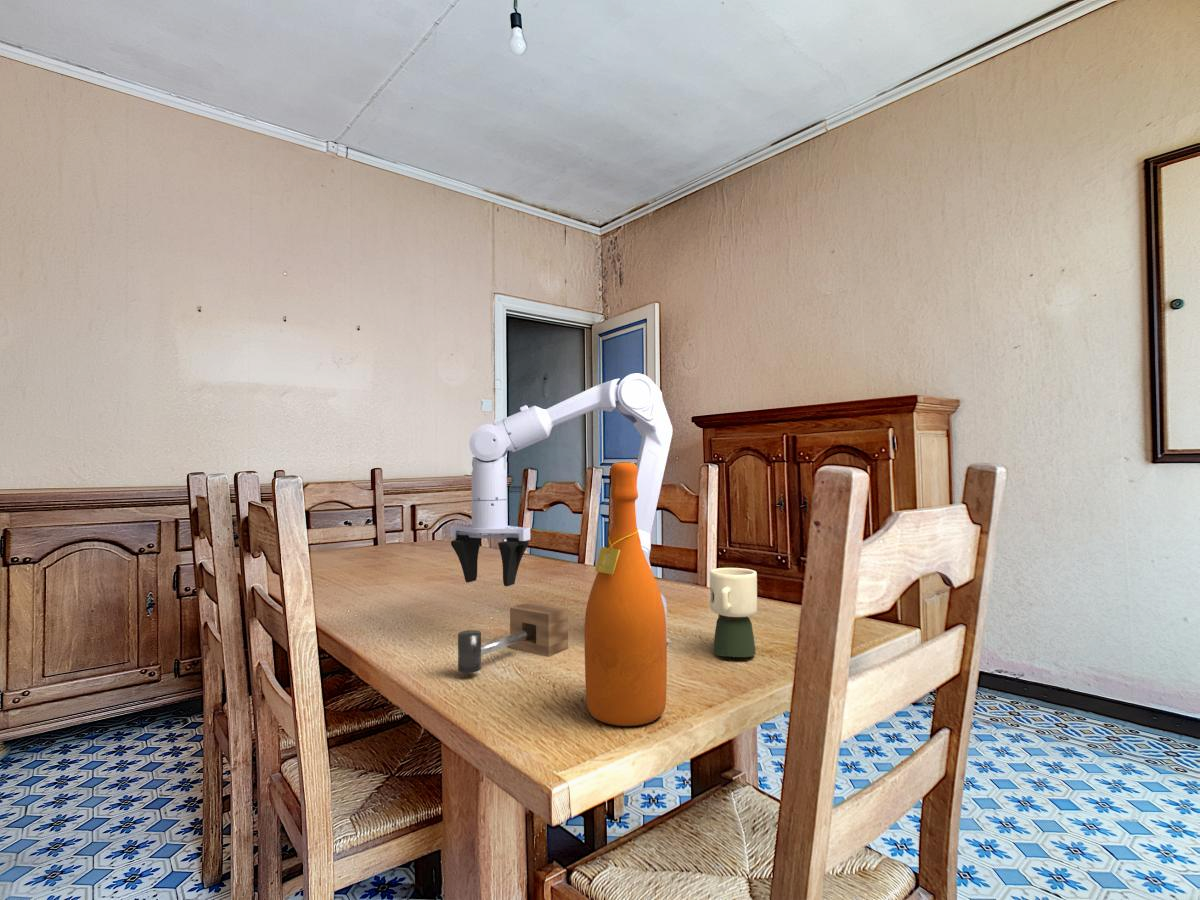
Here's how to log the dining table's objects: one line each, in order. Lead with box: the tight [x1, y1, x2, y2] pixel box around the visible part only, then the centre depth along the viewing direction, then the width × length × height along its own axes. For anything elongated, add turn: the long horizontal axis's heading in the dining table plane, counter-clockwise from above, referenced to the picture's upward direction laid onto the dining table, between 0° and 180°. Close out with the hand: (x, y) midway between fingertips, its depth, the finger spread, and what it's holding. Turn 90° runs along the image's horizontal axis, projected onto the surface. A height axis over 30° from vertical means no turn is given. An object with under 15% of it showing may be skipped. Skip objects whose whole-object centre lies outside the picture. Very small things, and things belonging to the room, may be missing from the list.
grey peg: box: [457, 629, 527, 674], centre depth 90 cm, size 13×3×5 cm, turn 146°
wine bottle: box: [583, 461, 668, 727], centre depth 73 cm, size 10×10×30 cm
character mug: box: [709, 567, 758, 660], centre depth 93 cm, size 11×7×13 cm, turn 152°
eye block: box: [509, 601, 569, 657], centre depth 98 cm, size 5×8×6 cm, turn 56°
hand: (489, 583), depth 99 cm, fingers open, 7 cm apart
